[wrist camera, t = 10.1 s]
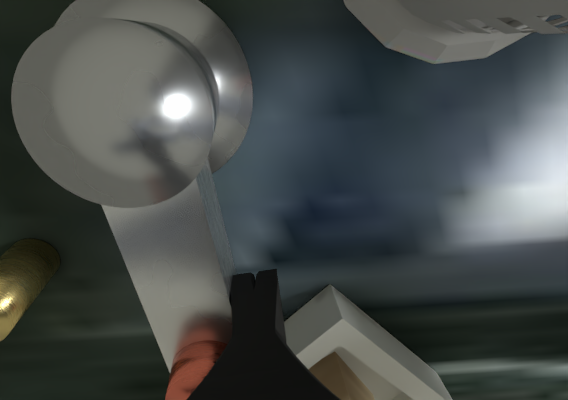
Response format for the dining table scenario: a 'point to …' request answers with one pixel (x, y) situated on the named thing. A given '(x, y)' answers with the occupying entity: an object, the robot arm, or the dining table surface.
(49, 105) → the crank
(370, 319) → the tray
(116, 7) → the crank base
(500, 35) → the french press
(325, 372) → the block
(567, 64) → the dining table surface
